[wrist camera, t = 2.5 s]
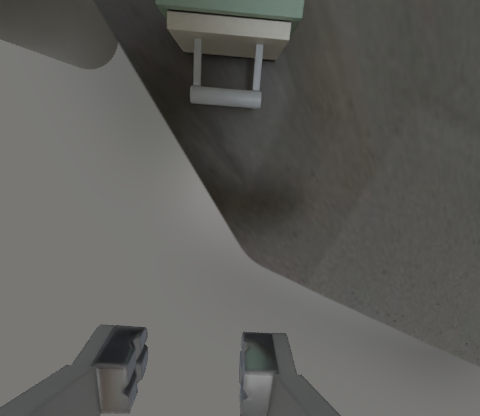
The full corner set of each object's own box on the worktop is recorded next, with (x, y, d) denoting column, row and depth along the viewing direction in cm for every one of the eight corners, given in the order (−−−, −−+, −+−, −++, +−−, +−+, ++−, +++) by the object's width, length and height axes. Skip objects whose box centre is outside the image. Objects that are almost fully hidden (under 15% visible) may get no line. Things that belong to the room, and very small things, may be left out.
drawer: (270, 112, 28) (281, 109, 22) (182, 105, 28) (167, 99, 21) (291, -87, 23) (313, -167, 17) (184, -99, 23) (165, -186, 16)
